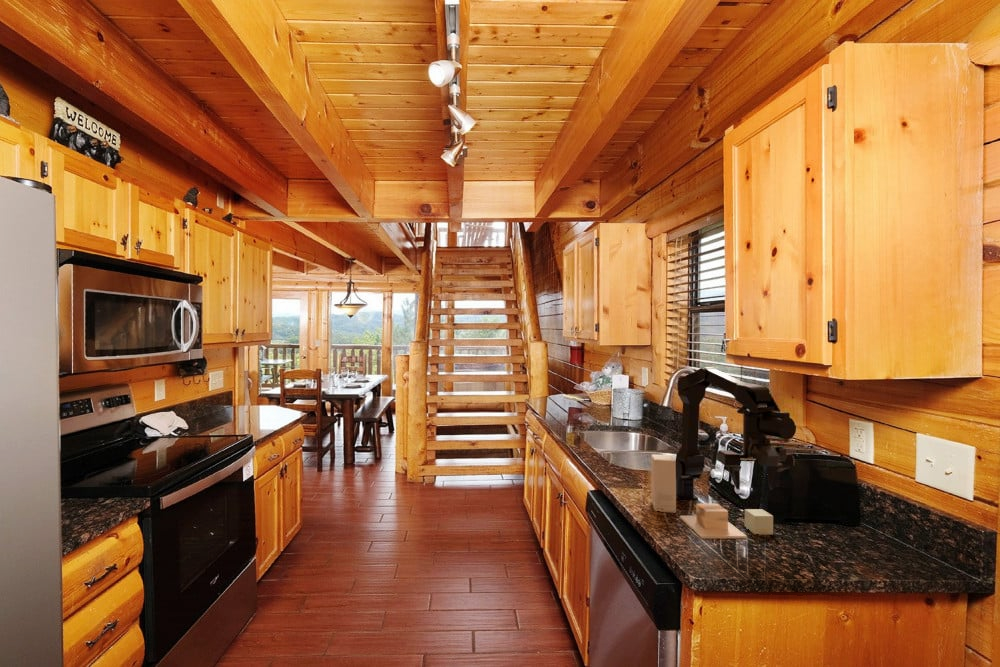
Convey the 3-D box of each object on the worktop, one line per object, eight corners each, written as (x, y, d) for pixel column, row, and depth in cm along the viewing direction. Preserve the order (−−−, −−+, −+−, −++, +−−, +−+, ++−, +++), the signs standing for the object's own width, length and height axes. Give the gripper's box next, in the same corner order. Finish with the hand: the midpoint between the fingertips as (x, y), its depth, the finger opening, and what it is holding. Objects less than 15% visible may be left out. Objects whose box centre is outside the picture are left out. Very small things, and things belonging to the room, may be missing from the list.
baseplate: (679, 517, 139) (679, 515, 139) (720, 517, 140) (720, 515, 140) (701, 538, 125) (701, 536, 125) (746, 538, 126) (746, 536, 126)
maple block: (696, 521, 135) (696, 503, 135) (717, 521, 135) (717, 503, 135) (705, 529, 129) (706, 511, 129) (727, 529, 129) (728, 511, 129)
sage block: (744, 527, 133) (744, 509, 133) (762, 527, 133) (762, 509, 133) (754, 534, 128) (754, 516, 128) (772, 534, 128) (773, 516, 128)
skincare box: (676, 513, 142) (677, 461, 142) (653, 511, 144) (653, 459, 144) (672, 503, 151) (672, 454, 151) (650, 502, 152) (650, 453, 152)
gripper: (735, 438, 123) (735, 499, 122) (808, 438, 123) (807, 499, 123) (715, 429, 134) (715, 485, 134) (781, 430, 134) (781, 486, 134)
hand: (754, 489), depth 131 cm, fingers open, 9 cm apart
